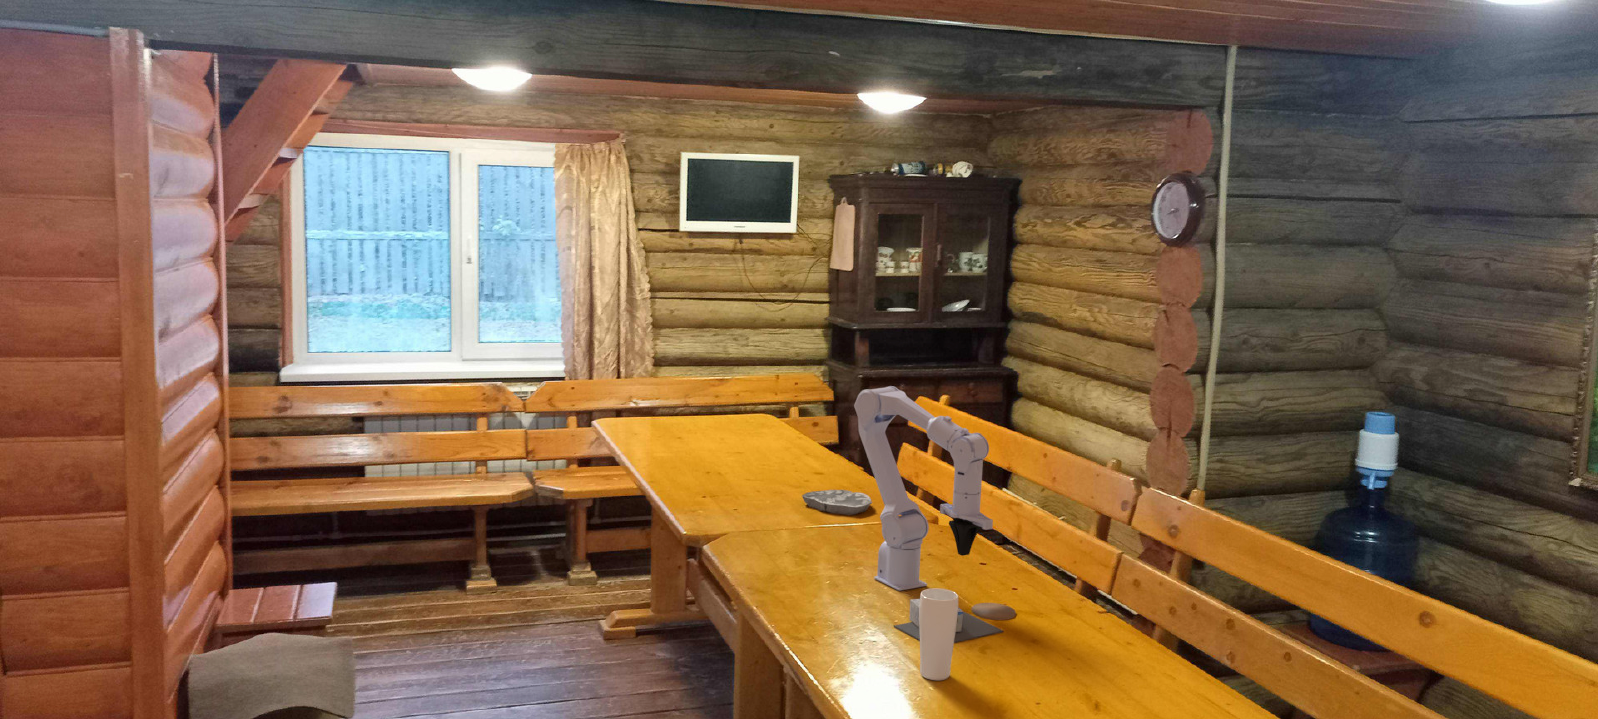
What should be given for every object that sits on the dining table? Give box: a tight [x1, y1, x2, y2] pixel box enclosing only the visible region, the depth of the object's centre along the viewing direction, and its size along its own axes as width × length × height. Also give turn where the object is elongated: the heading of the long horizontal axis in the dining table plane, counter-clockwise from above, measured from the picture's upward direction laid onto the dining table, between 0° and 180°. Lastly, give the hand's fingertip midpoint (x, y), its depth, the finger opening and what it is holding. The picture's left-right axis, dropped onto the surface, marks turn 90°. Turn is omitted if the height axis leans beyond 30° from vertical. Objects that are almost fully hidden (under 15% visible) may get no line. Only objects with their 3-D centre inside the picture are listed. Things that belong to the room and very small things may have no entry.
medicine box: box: [908, 598, 963, 632], centre depth 225 cm, size 8×4×9 cm
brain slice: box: [801, 489, 873, 516], centre depth 315 cm, size 20×17×3 cm
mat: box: [893, 610, 1004, 644], centre depth 224 cm, size 12×18×1 cm, turn 123°
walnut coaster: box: [971, 602, 1017, 621], centre depth 235 cm, size 9×9×1 cm
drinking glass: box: [919, 587, 959, 682], centre depth 200 cm, size 7×7×15 cm
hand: (963, 554), depth 240 cm, fingers closed
